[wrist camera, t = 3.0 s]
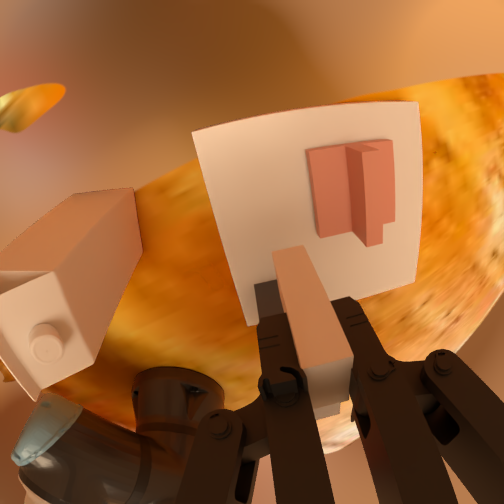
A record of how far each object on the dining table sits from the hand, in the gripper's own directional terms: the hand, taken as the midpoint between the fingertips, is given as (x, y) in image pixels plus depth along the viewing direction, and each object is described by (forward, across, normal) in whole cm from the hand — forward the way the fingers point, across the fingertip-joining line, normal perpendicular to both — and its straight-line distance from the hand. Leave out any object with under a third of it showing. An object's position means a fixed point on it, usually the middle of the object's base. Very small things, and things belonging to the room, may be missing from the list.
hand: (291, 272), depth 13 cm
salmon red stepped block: (+11, +8, 0) cm, 13 cm away
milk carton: (+14, -16, +1) cm, 21 cm away
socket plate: (+14, +6, -3) cm, 16 cm away
